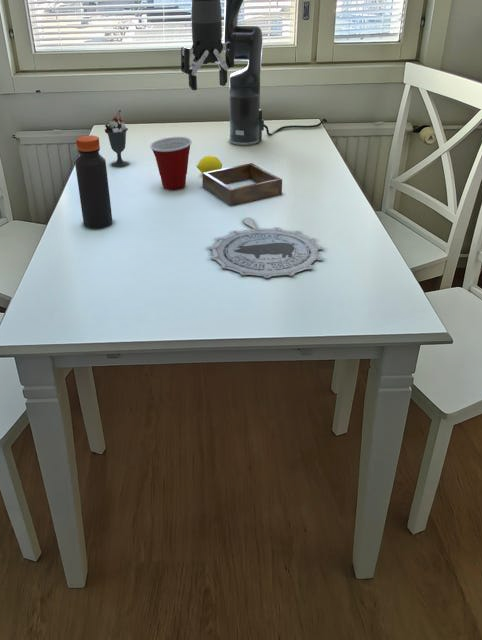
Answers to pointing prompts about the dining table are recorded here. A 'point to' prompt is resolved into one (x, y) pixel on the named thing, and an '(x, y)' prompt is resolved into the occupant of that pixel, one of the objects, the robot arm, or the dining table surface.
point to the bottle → (93, 183)
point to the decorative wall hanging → (265, 252)
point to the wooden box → (233, 196)
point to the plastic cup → (172, 160)
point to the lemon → (209, 164)
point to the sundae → (117, 139)
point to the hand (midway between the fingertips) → (208, 87)
